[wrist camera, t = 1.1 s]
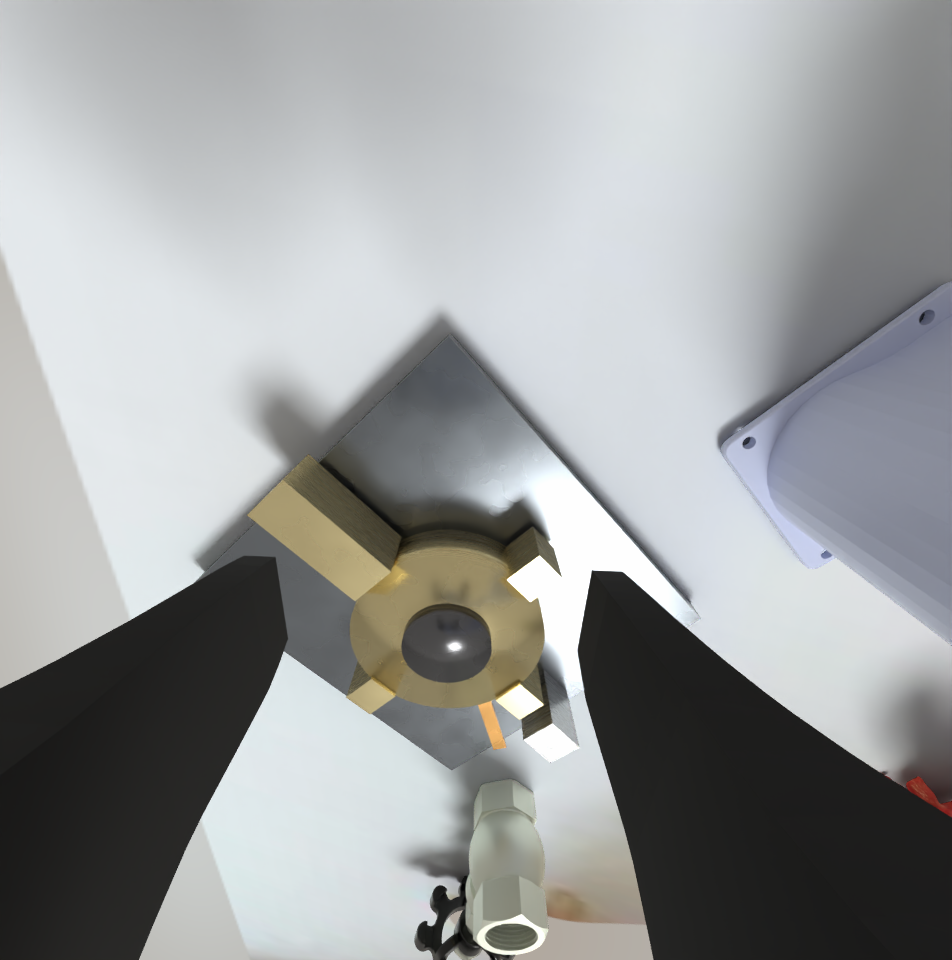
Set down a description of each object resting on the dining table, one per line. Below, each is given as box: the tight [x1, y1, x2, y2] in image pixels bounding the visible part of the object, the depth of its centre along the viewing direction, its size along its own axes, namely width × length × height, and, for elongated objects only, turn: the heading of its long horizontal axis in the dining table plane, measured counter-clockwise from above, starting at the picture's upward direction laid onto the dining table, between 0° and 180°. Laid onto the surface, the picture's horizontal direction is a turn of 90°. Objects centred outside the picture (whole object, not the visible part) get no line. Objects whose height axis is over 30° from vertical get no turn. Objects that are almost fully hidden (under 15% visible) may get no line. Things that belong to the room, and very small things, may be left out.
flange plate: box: [196, 333, 701, 770], centre depth 20 cm, size 16×18×4 cm
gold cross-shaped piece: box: [247, 454, 563, 720], centre depth 19 cm, size 14×11×3 cm
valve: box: [414, 779, 549, 960], centre depth 26 cm, size 7×7×12 cm
